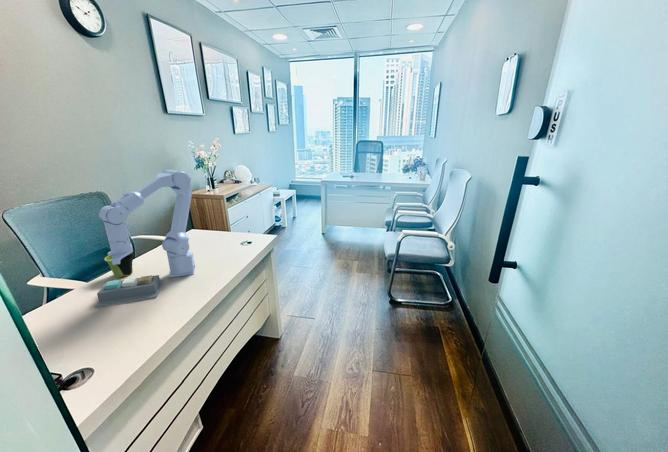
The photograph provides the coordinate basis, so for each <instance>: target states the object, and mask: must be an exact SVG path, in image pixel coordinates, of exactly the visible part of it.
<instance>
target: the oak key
mask: <svg viewBox="0 0 668 452" xmlns="http://www.w3.org/2000/svg"><path fill="white" fill-rule="evenodd" d="M152 276H153V275H146V276H140V277H139V278H140V279H139V281H138V283H139V285H143V284H150V283H152V281H153V278H152Z"/></svg>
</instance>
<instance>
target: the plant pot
mask: <svg viewBox="0 0 668 452" xmlns="http://www.w3.org/2000/svg"><path fill="white" fill-rule="evenodd" d="M111 260H112V255H107V256H105V257H104V261H105V262H106V263H107V264H108V265H109V268H110V269H111V272H112V273H113V276H114V277H115V278H117V279H119V278H124V277H128V276H129V275H124V274H123V273H122V271H121V270H120V268H119V267H118V266H117V265H113V264H112V261H111ZM132 274H133V268H132V273H131V274H130V275H132Z"/></svg>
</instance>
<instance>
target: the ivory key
mask: <svg viewBox="0 0 668 452" xmlns="http://www.w3.org/2000/svg"><path fill="white" fill-rule="evenodd" d="M137 278H138V277H130V278H124V279H123V280H124V281H123V282H122V287H130V286H136V284H137Z"/></svg>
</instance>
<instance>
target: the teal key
mask: <svg viewBox="0 0 668 452" xmlns="http://www.w3.org/2000/svg"><path fill="white" fill-rule="evenodd" d="M106 282H107V284H106V285H105V290H109V289H116V288H119V287H120V286H121V279H115V280H109V281H106Z"/></svg>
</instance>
